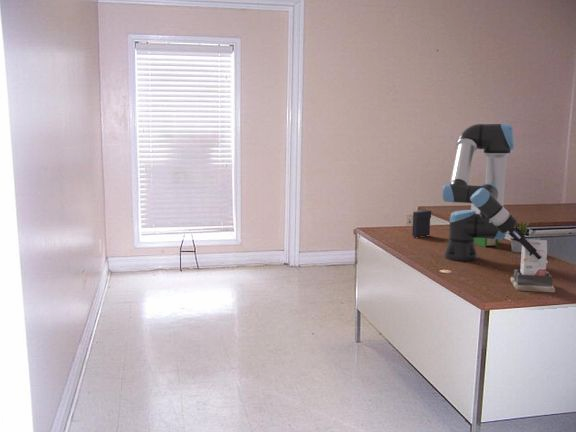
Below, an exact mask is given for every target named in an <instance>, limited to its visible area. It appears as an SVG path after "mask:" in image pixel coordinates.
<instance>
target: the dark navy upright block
mask: <svg viewBox="0 0 576 432" xmlns="http://www.w3.org/2000/svg"><path fill="white" fill-rule="evenodd" d="M431 218H432V210H427V209H426V210H419V211H413V212H412V232H411V233H412V234H411V235H412V236H414V237H420V238H422V237H421V236H426V237H428V236H427V235H429V236H430V234H431V233H430V230H431V229H430V228H431ZM414 237H413V238H414Z"/></svg>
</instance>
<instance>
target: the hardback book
mask: <svg viewBox="0 0 576 432" xmlns="http://www.w3.org/2000/svg"><path fill="white" fill-rule="evenodd" d="M470 204H471V206H470V210H475V212H476V214H480V210H479V209H478V208H477V207H475V206H474V204H473V203H470ZM474 244H476V245H477V244H478V245H479V246H481V247H484V248H487V246H494V247H495V248H497V247H499V239H495V240H494V239H486V238H474Z"/></svg>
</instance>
